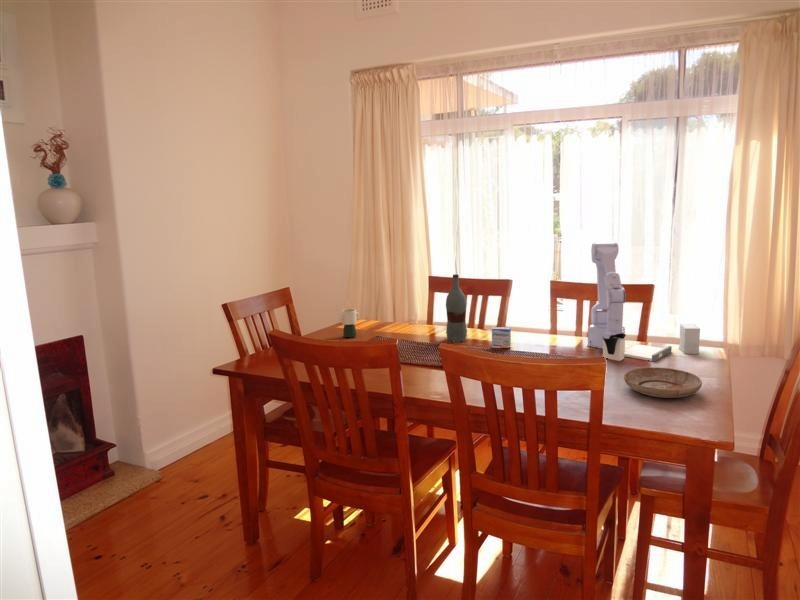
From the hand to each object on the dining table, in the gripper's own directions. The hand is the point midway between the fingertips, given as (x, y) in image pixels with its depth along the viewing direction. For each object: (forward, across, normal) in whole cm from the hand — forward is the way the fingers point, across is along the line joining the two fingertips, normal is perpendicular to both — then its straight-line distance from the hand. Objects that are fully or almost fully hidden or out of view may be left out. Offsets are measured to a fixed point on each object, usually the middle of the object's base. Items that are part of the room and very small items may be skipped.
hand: (613, 352), depth 237 cm
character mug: (+2, -42, +111) cm, 119 cm away
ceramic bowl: (+3, -26, -29) cm, 39 cm away
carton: (+2, 0, 0) cm, 2 cm away
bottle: (+2, -16, +67) cm, 69 cm away
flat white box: (+2, +14, -7) cm, 15 cm away
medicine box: (+2, -14, +44) cm, 46 cm away
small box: (+2, +27, -19) cm, 33 cm away
